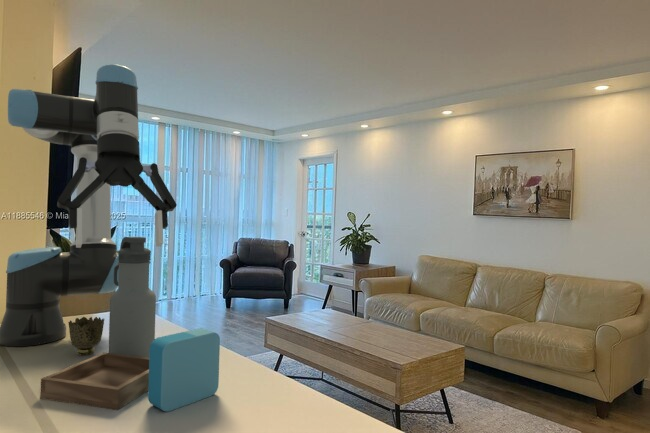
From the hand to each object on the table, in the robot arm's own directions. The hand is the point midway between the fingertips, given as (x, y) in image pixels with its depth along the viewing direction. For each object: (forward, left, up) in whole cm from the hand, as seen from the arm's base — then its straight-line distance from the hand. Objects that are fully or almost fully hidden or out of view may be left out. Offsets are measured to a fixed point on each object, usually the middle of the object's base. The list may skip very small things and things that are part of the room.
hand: (121, 245), depth 82 cm
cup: (-18, -23, -28) cm, 41 cm away
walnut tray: (-3, -4, -28) cm, 28 cm away
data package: (-2, +12, -28) cm, 31 cm away
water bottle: (-19, -11, -28) cm, 36 cm away
